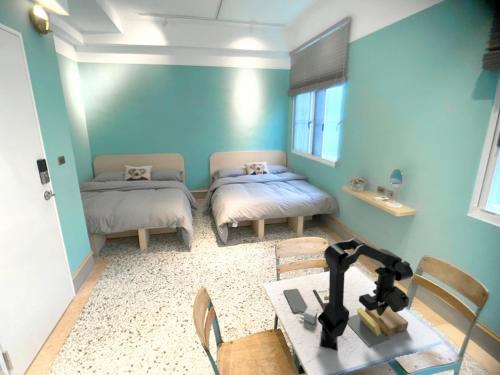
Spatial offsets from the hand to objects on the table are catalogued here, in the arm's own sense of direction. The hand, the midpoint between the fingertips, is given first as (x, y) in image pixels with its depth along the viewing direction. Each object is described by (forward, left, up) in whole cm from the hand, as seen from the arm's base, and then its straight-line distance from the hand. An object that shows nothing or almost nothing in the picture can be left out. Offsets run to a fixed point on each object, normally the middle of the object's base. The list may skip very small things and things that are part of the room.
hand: (379, 315), depth 102 cm
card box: (-3, +3, -1) cm, 5 cm away
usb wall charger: (-5, +28, -5) cm, 29 cm away
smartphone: (+4, +34, -5) cm, 35 cm away
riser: (+2, -3, -5) cm, 6 cm away
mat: (-4, +5, -5) cm, 8 cm away
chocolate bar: (+7, +19, -6) cm, 21 cm away
